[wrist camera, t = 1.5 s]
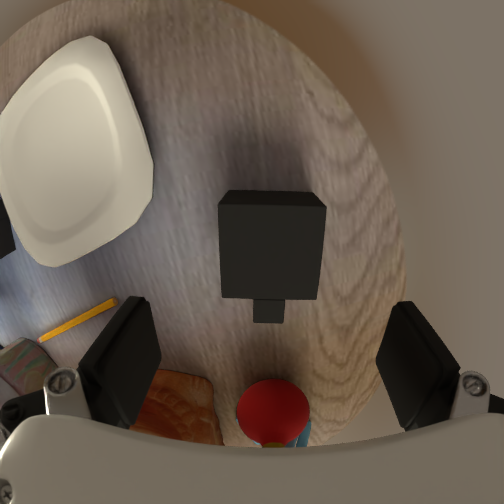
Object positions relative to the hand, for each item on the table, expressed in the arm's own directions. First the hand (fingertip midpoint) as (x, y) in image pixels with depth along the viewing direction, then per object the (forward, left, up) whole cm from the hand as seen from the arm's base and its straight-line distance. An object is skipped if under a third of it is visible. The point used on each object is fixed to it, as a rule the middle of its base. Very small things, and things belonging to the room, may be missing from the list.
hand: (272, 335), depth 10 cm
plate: (-7, -18, -11) cm, 22 cm away
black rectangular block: (0, 0, -11) cm, 11 cm away
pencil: (+11, -22, -11) cm, 27 cm away
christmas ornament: (+17, +1, -11) cm, 20 cm away
